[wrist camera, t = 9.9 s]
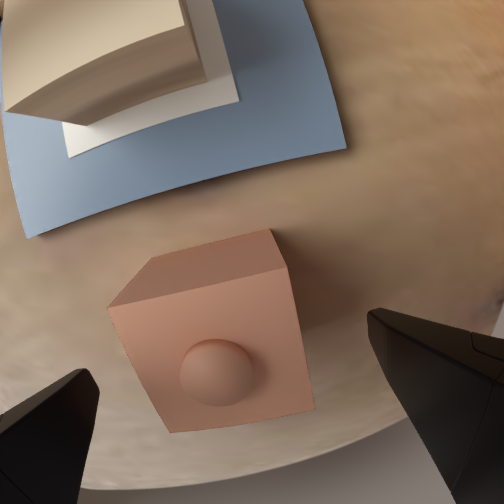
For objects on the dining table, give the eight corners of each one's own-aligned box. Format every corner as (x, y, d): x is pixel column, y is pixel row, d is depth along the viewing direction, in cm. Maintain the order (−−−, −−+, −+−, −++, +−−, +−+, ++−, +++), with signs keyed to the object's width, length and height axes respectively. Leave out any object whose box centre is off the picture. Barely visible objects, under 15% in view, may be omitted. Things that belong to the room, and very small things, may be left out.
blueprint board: (266, -70, 9) (267, -80, 8) (340, 149, 12) (347, 148, 11) (8, 25, 9) (-1, 21, 8) (36, 235, 12) (25, 239, 11)
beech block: (207, 82, 10) (184, 25, 5) (85, 126, 10) (4, 111, 5) (181, -17, 9) (155, -92, 4) (71, 27, 9) (6, -17, 4)
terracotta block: (269, 228, 13) (290, 275, 7) (292, 334, 14) (318, 421, 9) (152, 257, 13) (98, 317, 7) (188, 356, 14) (166, 444, 9)
